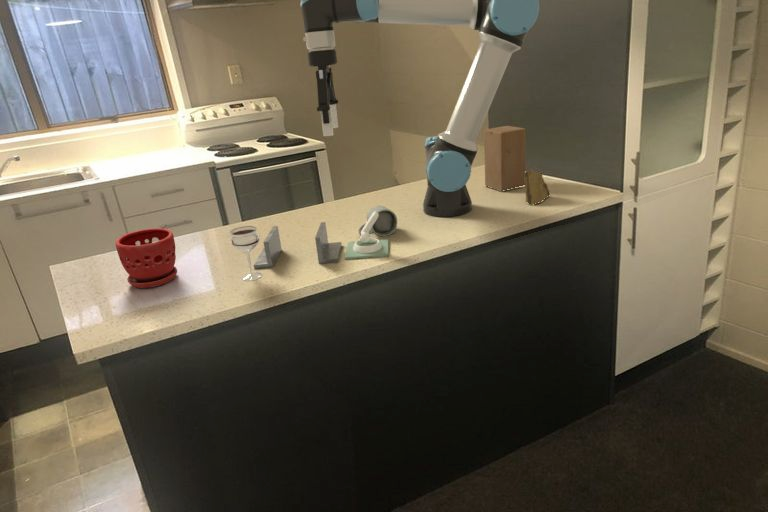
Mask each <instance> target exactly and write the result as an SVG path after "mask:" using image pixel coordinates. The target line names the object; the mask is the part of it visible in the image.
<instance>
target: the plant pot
mask: <svg viewBox="0 0 768 512" xmlns="http://www.w3.org/2000/svg"><path fill="white" fill-rule="evenodd" d="M154 238H155V239H158V240H157V241H154V242H153V239H154ZM146 240H148V242H145V241H146ZM137 242H140V243H139V244H136V243H137ZM115 247H116V252H117V255H118V258H119V260H120V263H121V265H122V268H124V271H126V273H127V274H128V277H127V282H128V284H129V285H131V286H132V287H135V288H140V289H148V288H154V287H159V286H162V285H165V284H168V282H170V281H172V280H173V279H174V278H175V277H176V275H177V274H178V269H177V267H176V266H175V264H176V242H175V236H174V233H173V231H172V230H170V229H165V228H145V229H139V230H136V231H132V232H128V233H126V234H123V235H122V236H119V237H118V238H117V239H116V241H115Z"/></svg>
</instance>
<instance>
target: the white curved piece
mask: <svg viewBox="0 0 768 512" xmlns="http://www.w3.org/2000/svg"><path fill="white" fill-rule="evenodd" d="M378 216H379V214H378V213H377V212H376V211H374V212H373V214H372V215H371V217H370V218H369V220H368V221H367V220H366V224H365V223H364V224H365V226H364V227H363V229H362V231H361V235H360V236H359V239H358V240H357V241H354V242H355V244H354V247H353V250H354V251H355V252H357V253H372V252H376V251H378V250H380V249H381V248H382V245H381V243H380V241H379V240H380V239H378V238H375V237H371V236H370V235H371V234H369V231H370V229H371V228H372V226H373V224H374V223H375V221H376V220H377V218H378ZM365 243H376V244H374V245H371V246H359V245H361V244H365Z"/></svg>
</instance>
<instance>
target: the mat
mask: <svg viewBox="0 0 768 512" xmlns="http://www.w3.org/2000/svg"><path fill="white" fill-rule="evenodd" d="M378 240H379V241H380V243H381V245H382V248H381V249H380V250H378V251H376V252H372V253H357V252H355V251H354V250H353V247H354V244H355V242H356V241H349V242H347V247H346V252H345V255H344V259H345V260H357V258H359V259H370V258H369V257H373V258H385V257H384V256H386V257H389V239H388V238H386V239H378ZM374 244H376V243H365V244H361V245H359V246H371V245H374Z"/></svg>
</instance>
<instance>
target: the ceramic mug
mask: <svg viewBox="0 0 768 512" xmlns="http://www.w3.org/2000/svg"><path fill="white" fill-rule="evenodd" d="M374 211H376V212H377V213H378V214H379V216H378V218H377V220H376V221H375V223H374V224H373V226H372V228H371V229H370V231H369V235H371V234H373V233H374V234H375V235H377V236H379V237H387V235H388V236H390V235H391V234H393V233H394V232H395V231H396V229H397V227H398V217H397V215H396V213H395V212H394V211H393V210H391V209H389V208H388V207H386V206H384V205H376V206H372V208H370V209H369V211H368V212H367V214H366V223H367V221H368V220H369V218H370V217H371V215H372V214H373V212H374ZM366 223H364V224H362V225H361V226H360V227H359V228H358V234H359V235H360V236H361V231H362V229H363V227H364V226H365V224H366Z"/></svg>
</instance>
